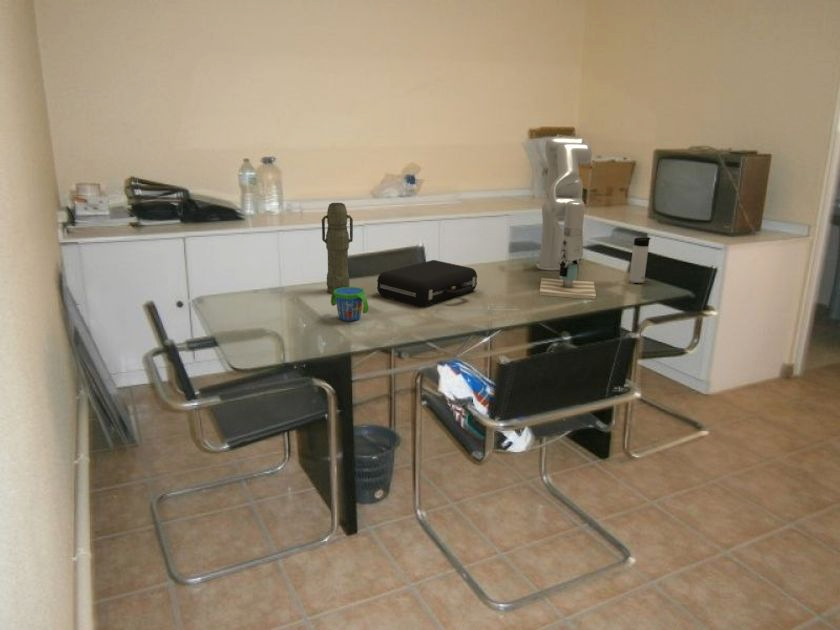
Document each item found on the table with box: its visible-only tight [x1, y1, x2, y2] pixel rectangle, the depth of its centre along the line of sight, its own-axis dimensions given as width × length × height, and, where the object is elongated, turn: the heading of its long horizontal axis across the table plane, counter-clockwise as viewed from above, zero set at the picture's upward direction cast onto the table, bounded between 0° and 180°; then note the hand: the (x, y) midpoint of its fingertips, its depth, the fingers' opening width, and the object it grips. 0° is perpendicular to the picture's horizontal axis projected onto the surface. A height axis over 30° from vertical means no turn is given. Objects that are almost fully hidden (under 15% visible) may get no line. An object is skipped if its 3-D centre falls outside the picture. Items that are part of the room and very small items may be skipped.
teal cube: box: [558, 262, 579, 281], centre depth 270 cm, size 6×6×6 cm
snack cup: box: [330, 286, 369, 322], centre depth 228 cm, size 16×10×10 cm
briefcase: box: [376, 259, 478, 308], centre depth 259 cm, size 36×32×10 cm
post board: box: [539, 277, 597, 300], centre depth 271 cm, size 22×22×10 cm
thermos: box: [321, 202, 354, 295], centre depth 257 cm, size 9×12×35 cm
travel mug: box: [628, 236, 651, 284], centre depth 284 cm, size 6×7×20 cm
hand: (568, 274), depth 270 cm, fingers closed on teal cube, 6 cm apart
